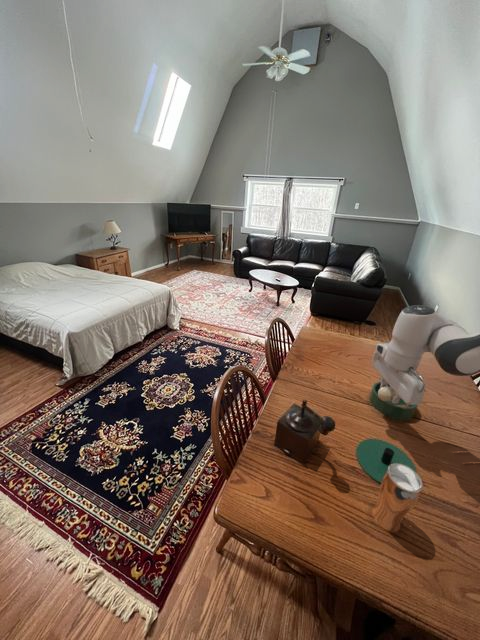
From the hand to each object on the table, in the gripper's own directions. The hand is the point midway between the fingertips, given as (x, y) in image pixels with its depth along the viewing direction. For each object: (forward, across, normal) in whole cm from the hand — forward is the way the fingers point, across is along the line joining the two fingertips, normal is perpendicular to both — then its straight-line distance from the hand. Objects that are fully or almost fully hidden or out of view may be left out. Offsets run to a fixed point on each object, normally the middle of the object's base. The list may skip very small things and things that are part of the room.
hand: (388, 395), depth 84 cm
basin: (+13, +9, -10) cm, 18 cm away
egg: (+2, 0, 0) cm, 2 cm away
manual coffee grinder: (+13, -8, +28) cm, 32 cm away
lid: (+12, -14, +6) cm, 19 cm away
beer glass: (+13, -28, +14) cm, 34 cm away
